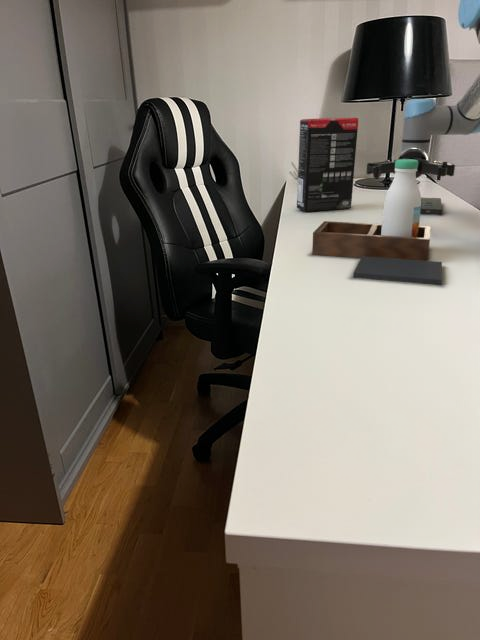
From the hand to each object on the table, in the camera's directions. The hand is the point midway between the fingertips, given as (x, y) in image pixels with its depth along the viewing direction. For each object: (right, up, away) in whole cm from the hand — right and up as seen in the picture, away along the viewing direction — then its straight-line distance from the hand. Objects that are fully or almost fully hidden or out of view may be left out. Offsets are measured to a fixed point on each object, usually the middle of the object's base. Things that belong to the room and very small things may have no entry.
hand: (407, 173), depth 114 cm
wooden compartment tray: (-8, -18, 0) cm, 20 cm away
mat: (-7, -24, -15) cm, 29 cm away
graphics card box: (-11, +2, +47) cm, 48 cm away
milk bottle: (-3, -19, -2) cm, 19 cm away
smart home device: (+21, +2, +45) cm, 49 cm away
